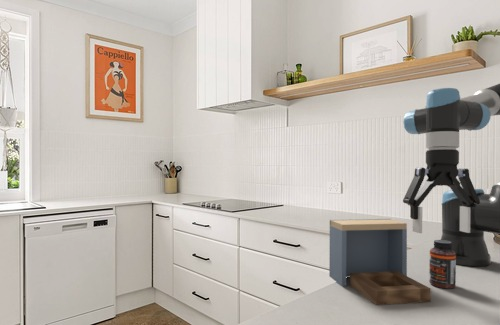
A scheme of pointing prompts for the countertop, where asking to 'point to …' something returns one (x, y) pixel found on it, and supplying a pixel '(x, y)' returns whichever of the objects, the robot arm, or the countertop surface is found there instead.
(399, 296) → the socket
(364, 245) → the blue open cabinet
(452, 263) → the supplement bottle
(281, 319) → the countertop surface
